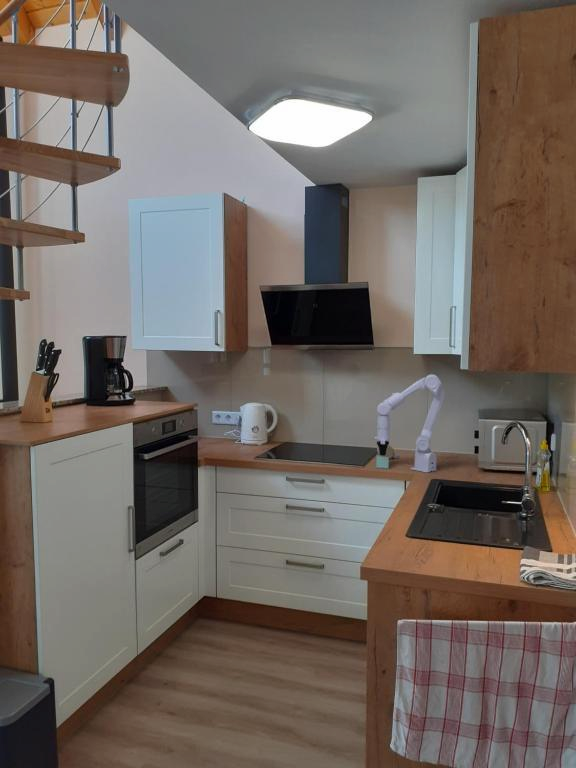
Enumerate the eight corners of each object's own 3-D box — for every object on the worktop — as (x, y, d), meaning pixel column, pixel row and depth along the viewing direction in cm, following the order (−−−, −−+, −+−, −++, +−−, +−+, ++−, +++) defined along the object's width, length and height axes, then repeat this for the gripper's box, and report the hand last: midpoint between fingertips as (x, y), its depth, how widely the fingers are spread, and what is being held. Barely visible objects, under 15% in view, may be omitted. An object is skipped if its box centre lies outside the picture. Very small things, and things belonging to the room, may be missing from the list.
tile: (375, 467, 282) (376, 455, 281) (388, 468, 281) (389, 455, 280) (375, 468, 280) (376, 455, 279) (388, 469, 279) (389, 456, 278)
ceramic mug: (380, 460, 300) (380, 444, 299) (376, 456, 308) (377, 441, 307) (401, 460, 301) (401, 445, 300) (396, 457, 309) (397, 442, 308)
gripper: (375, 425, 289) (374, 453, 290) (374, 430, 275) (373, 459, 276) (389, 426, 288) (389, 454, 289) (389, 430, 273) (389, 460, 274)
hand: (382, 456), depth 282 cm, fingers closed
